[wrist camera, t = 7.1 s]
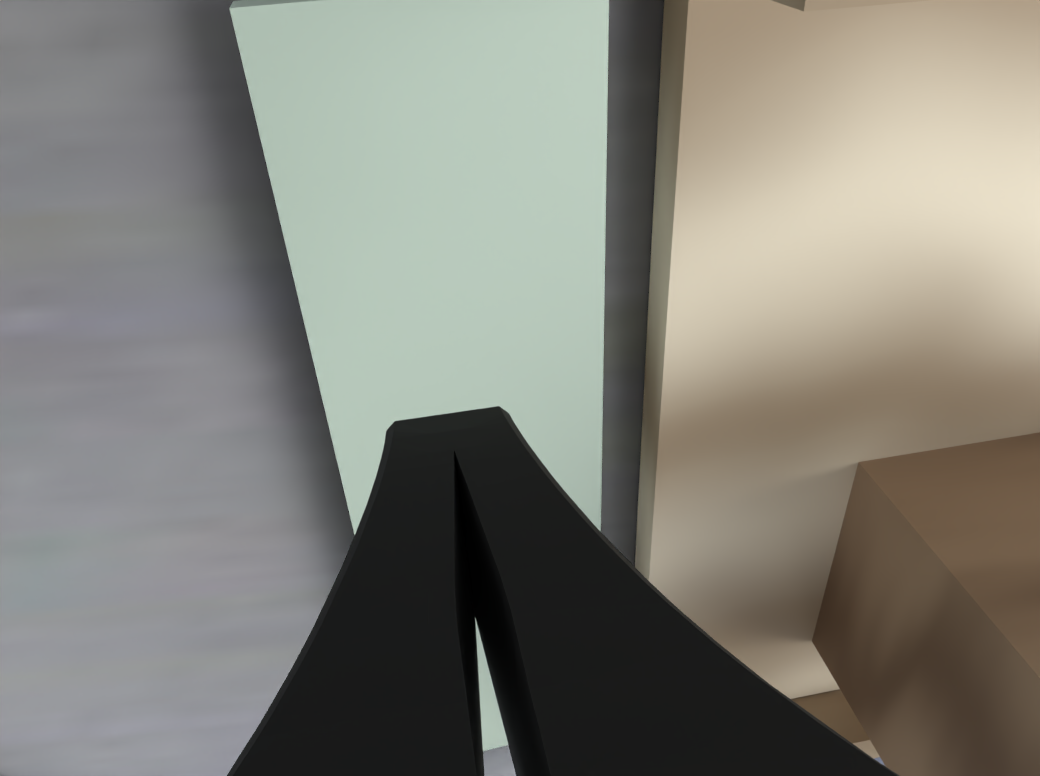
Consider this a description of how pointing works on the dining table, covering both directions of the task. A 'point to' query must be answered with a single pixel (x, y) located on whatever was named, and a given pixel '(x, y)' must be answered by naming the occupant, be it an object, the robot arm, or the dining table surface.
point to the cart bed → (827, 290)
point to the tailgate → (443, 219)
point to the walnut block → (941, 609)
